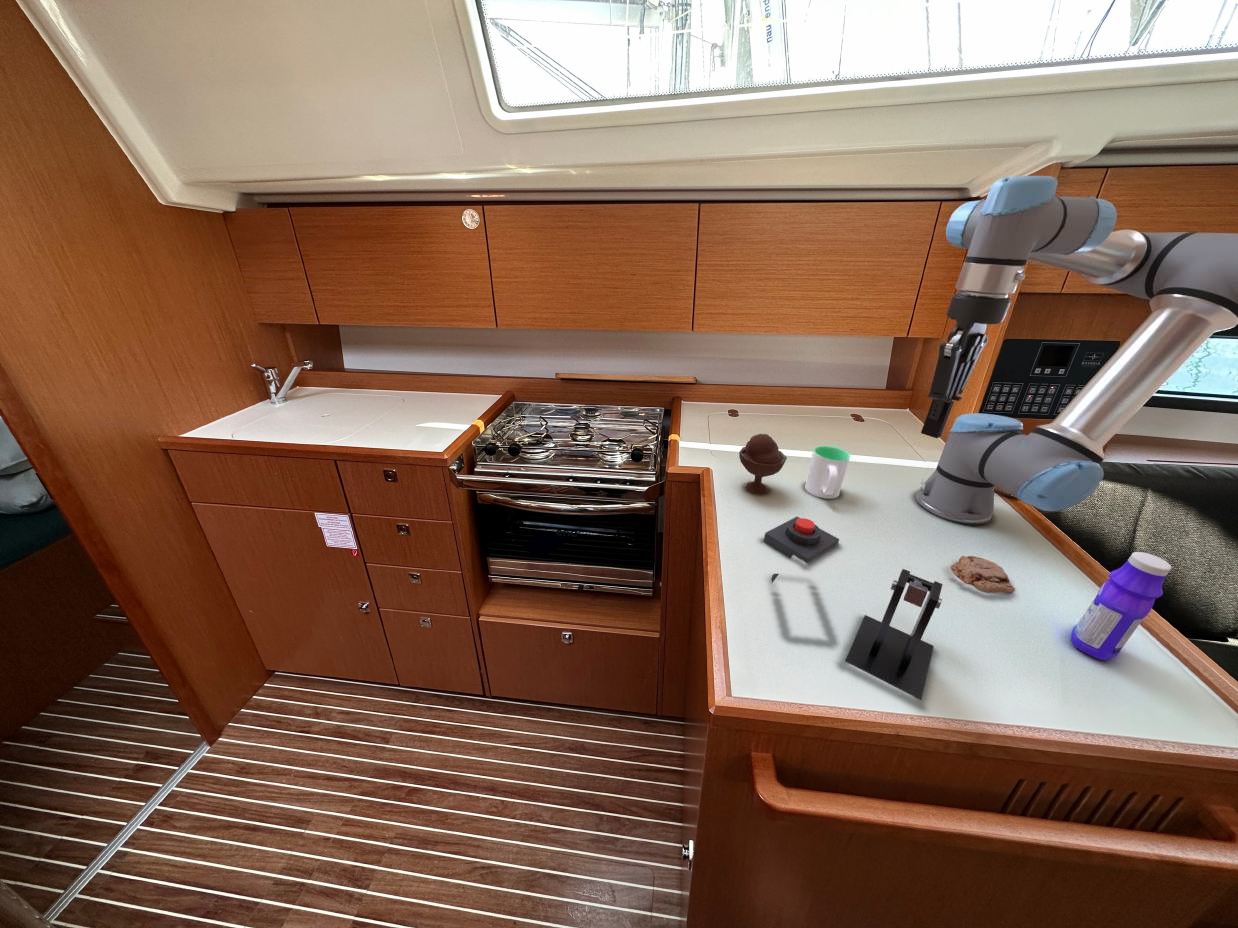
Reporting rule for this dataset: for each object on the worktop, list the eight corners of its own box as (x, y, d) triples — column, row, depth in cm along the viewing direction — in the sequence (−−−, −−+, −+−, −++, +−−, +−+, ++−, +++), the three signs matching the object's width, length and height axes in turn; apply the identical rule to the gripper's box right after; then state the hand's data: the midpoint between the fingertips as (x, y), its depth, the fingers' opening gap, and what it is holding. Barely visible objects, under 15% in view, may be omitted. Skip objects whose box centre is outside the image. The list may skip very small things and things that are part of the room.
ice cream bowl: (781, 502, 111) (794, 445, 104) (733, 496, 113) (743, 439, 106) (777, 481, 121) (789, 427, 114) (733, 476, 122) (742, 422, 116)
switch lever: (897, 580, 76) (902, 567, 76) (932, 595, 73) (938, 581, 73) (892, 595, 66) (898, 579, 66) (932, 612, 63) (939, 596, 63)
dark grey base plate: (794, 524, 103) (798, 509, 101) (836, 547, 96) (841, 531, 94) (763, 541, 97) (766, 525, 95) (805, 567, 90) (810, 550, 88)
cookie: (1002, 571, 91) (1009, 558, 90) (1017, 606, 83) (1024, 593, 81) (943, 556, 95) (949, 544, 94) (952, 588, 86) (958, 576, 85)
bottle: (1073, 624, 79) (1128, 541, 71) (1119, 646, 75) (1182, 560, 67) (1063, 645, 75) (1120, 559, 67) (1110, 669, 71) (1177, 581, 63)
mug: (846, 509, 110) (858, 470, 105) (810, 504, 111) (820, 465, 106) (835, 484, 120) (845, 447, 116) (802, 480, 122) (811, 444, 117)
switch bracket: (862, 620, 79) (889, 549, 72) (931, 651, 73) (966, 577, 66) (842, 666, 70) (870, 590, 63) (918, 705, 65) (957, 627, 58)
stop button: (801, 523, 97) (802, 516, 97) (816, 531, 95) (818, 524, 94) (790, 528, 95) (792, 521, 95) (806, 537, 93) (808, 530, 92)
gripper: (995, 300, 66) (937, 451, 77) (1026, 295, 73) (968, 434, 84) (938, 293, 71) (891, 435, 82) (971, 289, 78) (924, 420, 89)
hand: (930, 434), depth 83 cm, fingers closed
